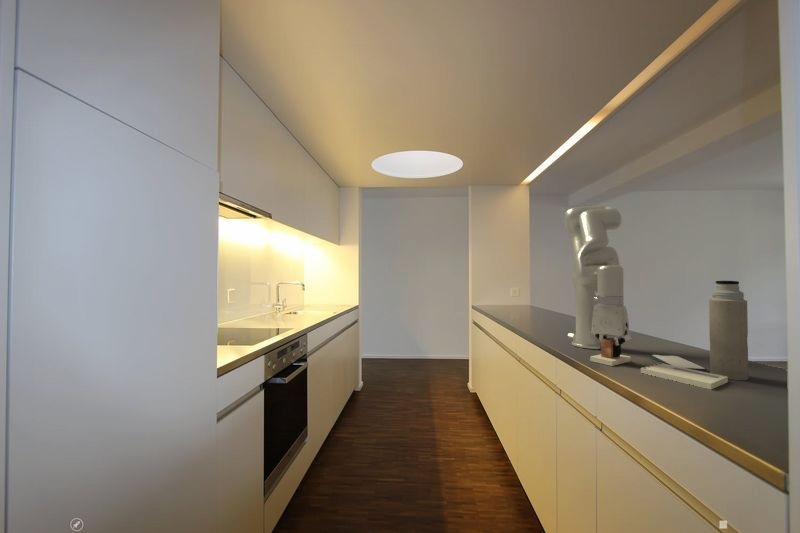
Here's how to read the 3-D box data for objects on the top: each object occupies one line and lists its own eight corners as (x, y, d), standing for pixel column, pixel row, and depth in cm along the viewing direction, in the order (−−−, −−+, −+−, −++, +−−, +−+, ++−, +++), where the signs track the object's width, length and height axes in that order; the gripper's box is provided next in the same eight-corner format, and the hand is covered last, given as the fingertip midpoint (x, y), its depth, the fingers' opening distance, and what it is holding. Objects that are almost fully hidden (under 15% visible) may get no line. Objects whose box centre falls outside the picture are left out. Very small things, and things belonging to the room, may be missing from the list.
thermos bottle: (742, 374, 98) (741, 280, 99) (753, 382, 91) (751, 281, 92) (706, 370, 102) (705, 280, 103) (714, 377, 95) (713, 280, 96)
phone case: (709, 374, 100) (677, 360, 116) (709, 369, 100) (677, 355, 116) (675, 372, 102) (649, 358, 118) (675, 367, 102) (648, 354, 118)
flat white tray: (640, 373, 99) (640, 367, 99) (659, 367, 105) (659, 362, 105) (710, 389, 85) (710, 383, 85) (727, 382, 91) (727, 376, 91)
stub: (590, 360, 112) (590, 338, 112) (609, 356, 118) (609, 335, 118) (612, 366, 106) (611, 342, 106) (631, 361, 112) (631, 339, 112)
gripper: (580, 300, 118) (580, 351, 117) (631, 303, 103) (631, 362, 103) (592, 299, 121) (592, 349, 121) (643, 302, 107) (643, 359, 107)
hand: (610, 354), depth 112 cm, fingers closed on stub, 3 cm apart
